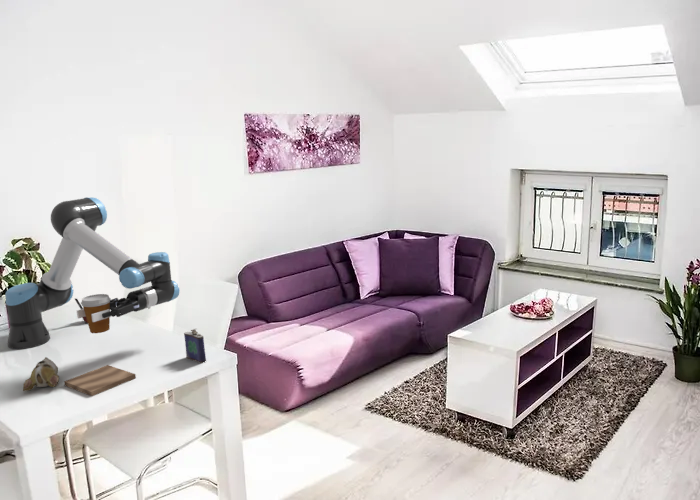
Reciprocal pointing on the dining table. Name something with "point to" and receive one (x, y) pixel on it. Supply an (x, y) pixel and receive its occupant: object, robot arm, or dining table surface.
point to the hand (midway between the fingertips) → (85, 316)
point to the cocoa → (81, 308)
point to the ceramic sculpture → (42, 375)
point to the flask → (195, 346)
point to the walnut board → (99, 380)
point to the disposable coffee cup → (93, 306)
